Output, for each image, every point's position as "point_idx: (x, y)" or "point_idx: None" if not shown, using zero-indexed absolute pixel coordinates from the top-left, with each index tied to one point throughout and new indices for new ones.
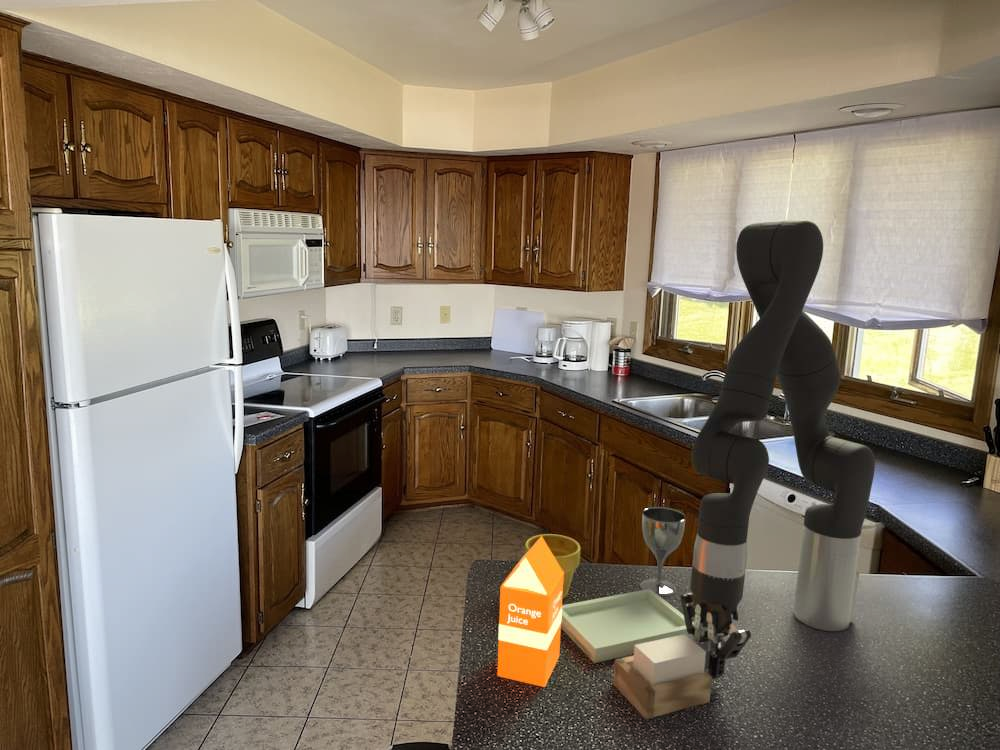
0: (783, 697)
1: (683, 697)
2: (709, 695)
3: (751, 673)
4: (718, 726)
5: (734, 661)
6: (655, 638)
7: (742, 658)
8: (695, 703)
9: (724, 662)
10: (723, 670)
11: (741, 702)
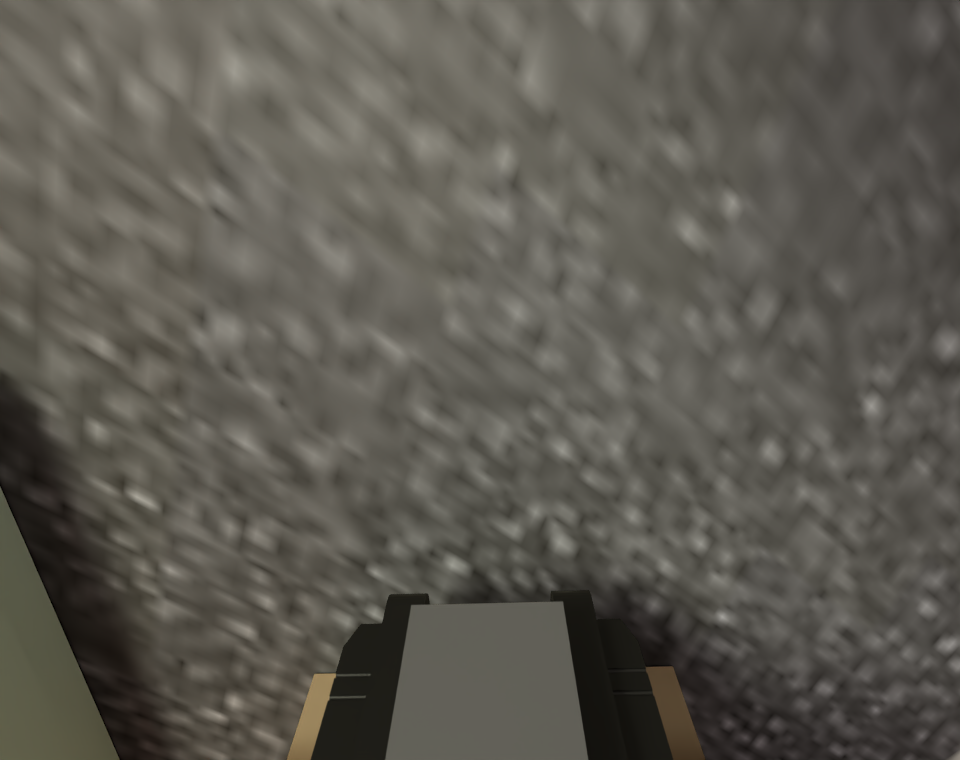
0: (919, 157)
1: None
2: (688, 713)
3: (519, 187)
4: (854, 729)
5: (309, 212)
6: (14, 740)
7: (276, 92)
8: None
9: (666, 747)
10: (644, 671)
11: (773, 509)
